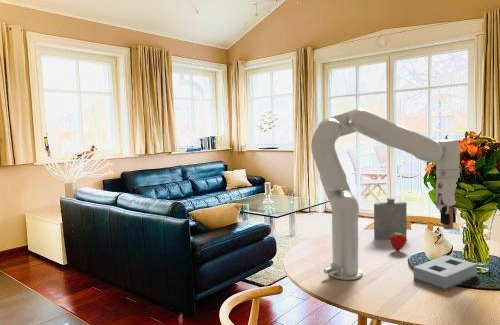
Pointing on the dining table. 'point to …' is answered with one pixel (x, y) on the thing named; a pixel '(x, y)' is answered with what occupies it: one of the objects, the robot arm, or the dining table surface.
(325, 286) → the dining table surface
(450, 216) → the pin
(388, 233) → the hip flask
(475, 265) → the hole block
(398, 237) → the strawberry
